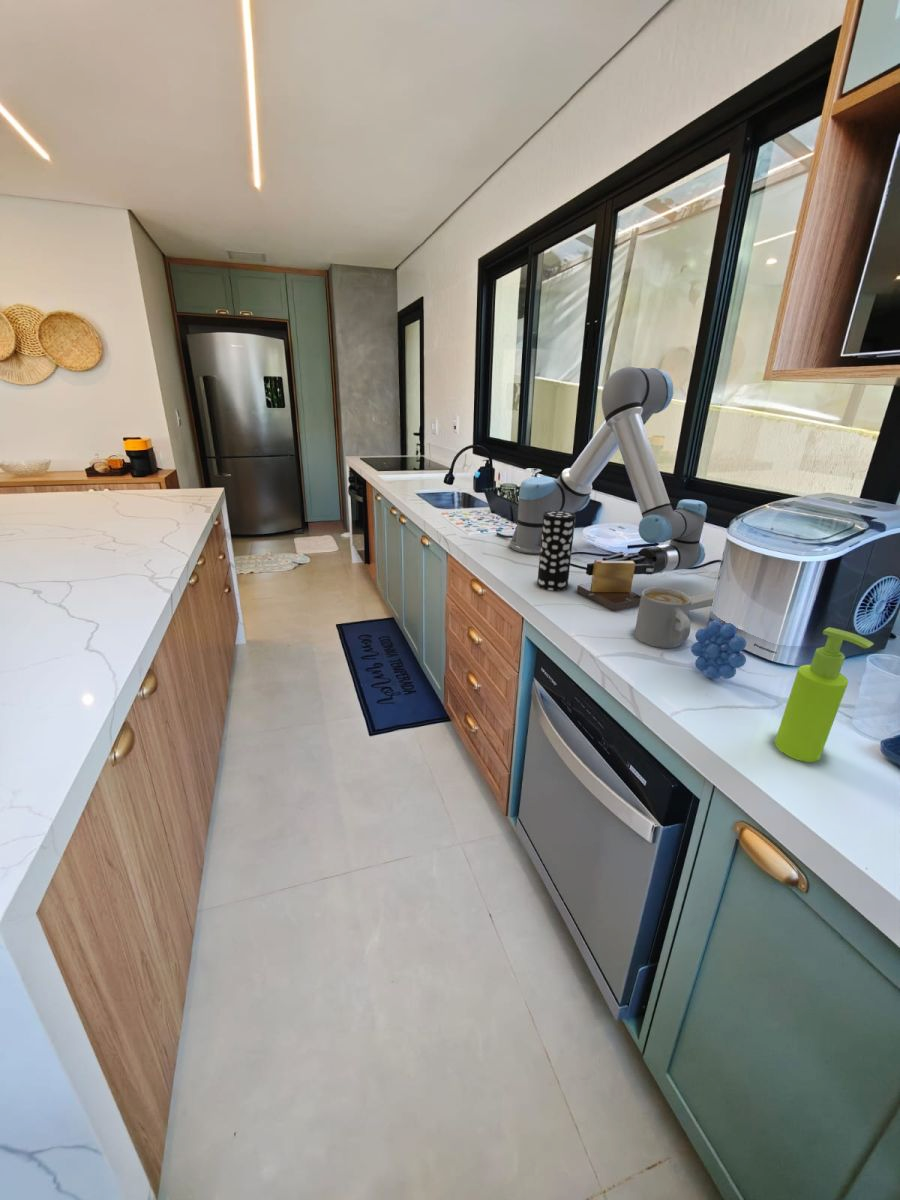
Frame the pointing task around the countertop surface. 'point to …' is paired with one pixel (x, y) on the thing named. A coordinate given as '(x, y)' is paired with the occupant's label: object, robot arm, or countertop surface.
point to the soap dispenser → (815, 699)
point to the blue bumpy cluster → (719, 650)
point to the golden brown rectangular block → (612, 576)
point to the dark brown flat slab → (610, 598)
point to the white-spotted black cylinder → (555, 550)
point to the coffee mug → (663, 617)
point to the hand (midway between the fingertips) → (588, 569)
